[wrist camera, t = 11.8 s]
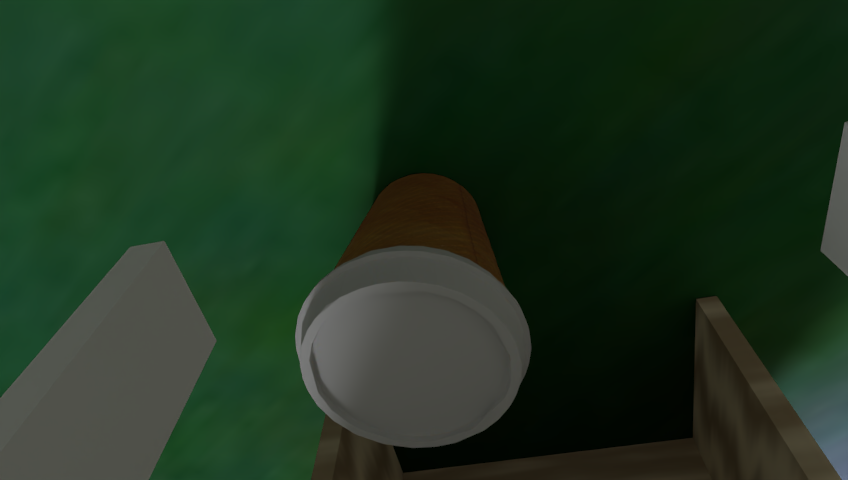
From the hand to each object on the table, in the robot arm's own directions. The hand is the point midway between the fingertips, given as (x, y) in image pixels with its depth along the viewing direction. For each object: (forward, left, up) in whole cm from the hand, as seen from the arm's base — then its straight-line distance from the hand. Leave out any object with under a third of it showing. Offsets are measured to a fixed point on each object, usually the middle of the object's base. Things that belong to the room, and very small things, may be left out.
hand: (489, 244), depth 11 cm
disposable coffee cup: (+9, -4, -18) cm, 21 cm away
